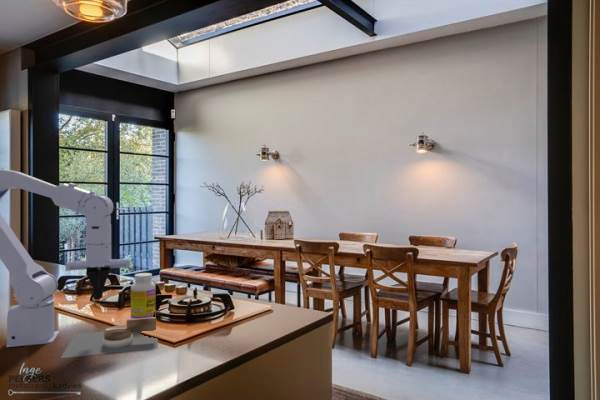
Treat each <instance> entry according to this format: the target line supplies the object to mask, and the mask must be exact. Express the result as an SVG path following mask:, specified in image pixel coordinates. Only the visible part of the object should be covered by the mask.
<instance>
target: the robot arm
mask: <svg viewBox="0 0 600 400" xmlns="http://www.w3.org/2000/svg"><path fill="white" fill-rule="evenodd" d="M11 189H13V190H15V189H20V190H24V191H26V192H30V193H34V194H37V195H40V196H42V197H43V196H44V197H47V198H50V199H51V200H52V202H53V203H54V205H55V206H56V207H57V206H58V207H60V208H64V209H67V210H70V211H73V212H76V213H78V214H82V215H84V216H85V219H86V220H85V259H84V260H77V261H75V260H74V261H67V262H65V272H69V271H79V270H86V271H85V275H86V277H87V278H88V280H89V282H90V284H91V286H92V289H93V293H94V297H95V299H96V300H97V299H102V298H103V295H104V289H105V286H106V282H107V280H108V277H109V275H110V272H111V271H112V269H121V268H122V269H124V268H125V269H130V268H131V259H130V258H128V259H127V258H125V259H124V258H123V259H121V258H120V259H117V258H112V224H111V223H112V222H111V221H112V216H111V214H112V213H113V211H114V202H113V201H112V199H111V198H110V197H108V196H106V195H105V194H97V195H96V192H95V191H94V190H89V191H88V190H85V189H82V188H79V187H77V184H76V183H73V182H68V183H62V184H60V185H55V184H52V183H50V182H47V181H44V180H43V179H39V178H37V177H34V176H31V175H29V174H26V173H23V172H20V171H17V170H12V169H7V168H4V167H0V201H1V199H3V197H4V196H5V195H6V194H7V192H9V190H11ZM0 261H1V262H2V264H3V265H4V266H5V268H6V270H8V272H9V274H10V282H9V284H10V286H11V288H12V290H13V293H14V295H13V296H14V299H15V300H16V302H17V303H18V304H16V305H12V306H11V305H10V307H9V309H8V310H7V311H8V312H7V316H6V344H5V345H6V346H5V347H6V348H12V347H13V348H14V347H21V346H22V347H23V346H33V345H43V344H44V345H45V344H52V343H53V342H54V341H55V340H56V337H57V336H58V335H59V334H60V330H55V298H54V295H55V293H56V292H57V290H58V286H59V282H58V280H57V278H56V277H55V276H54V275H53V274H51V273H49V272H48V271H47V270H46V269H45V268H44V266H42V265H40V264H39V263H36V262H35V261H34V259H33V258H32V257H31V255H30V253H29V252H28V251H27V249H26V248H25V246H24V245H23V243H22V242H21V240H20V239H19V238H18V236H17V235H16V233H15V232H14V231H13V230H12V228H11V227H10V226H9V224H8V223H7V220H6V219H5V218H4V217H3V216H2V214H1V213H0Z"/></svg>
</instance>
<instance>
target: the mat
mask: <svg viewBox="0 0 600 400" xmlns="http://www.w3.org/2000/svg"><path fill="white" fill-rule="evenodd" d="M103 338H104V330H103V331H94V332H93V331H92V332H83V333H81V332H80V333H75V334H73V336H72V337H71V340H70V341H69V343H68V345H67V346H66V348H65V350H64V351H63V353H62V355H61V356H60V359H69V358H70V359H71V358H76V357H77V358H78V357H85V356H87V357H88V356H96V355H106V354H115V353H117V354H118V353H124V352H134V351H145V350H153V349H154V350H155V349H158V347H159V346H158V344H159V338H158V339H157V338H153V337H151V338H149V337H148V336H144V335H142V334H140V333H137V332H132V343H131V344H130V345H127V346H124V347H120V348H106V347H104V346H103Z"/></svg>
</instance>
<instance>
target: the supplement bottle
mask: <svg viewBox="0 0 600 400" xmlns="http://www.w3.org/2000/svg"><path fill="white" fill-rule="evenodd" d="M152 279H153V274H152V273H151V272H140V273H135V274H134V283H133V284H131V286H130V319H135V318H149V317H153V315H154V312H155V313H156V300H157V299H156V297H157V296H156V295H157V294H156V286H157V285H156V284H155V283H154V282H153V281H152Z"/></svg>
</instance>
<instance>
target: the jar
mask: <svg viewBox="0 0 600 400" xmlns="http://www.w3.org/2000/svg"><path fill="white" fill-rule="evenodd" d="M131 343H132V335H131V336H130V337H128V338H126V339H122V340H116V341H110V340H106V339H104V338H103V346H104V347H106V348H120V347H124V346H127V345H130V344H131Z"/></svg>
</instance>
